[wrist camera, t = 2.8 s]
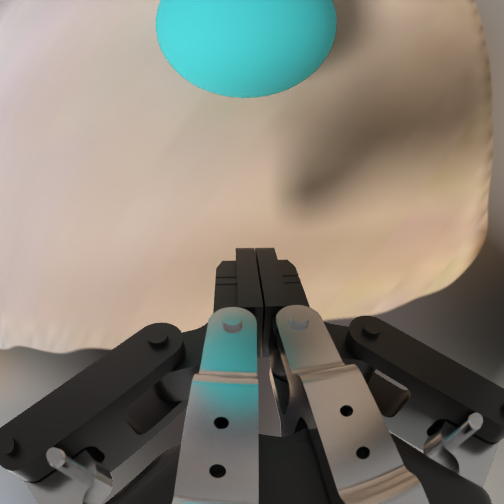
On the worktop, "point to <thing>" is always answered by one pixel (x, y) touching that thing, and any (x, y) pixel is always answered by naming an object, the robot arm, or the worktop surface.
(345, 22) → the worktop surface
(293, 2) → the ball
